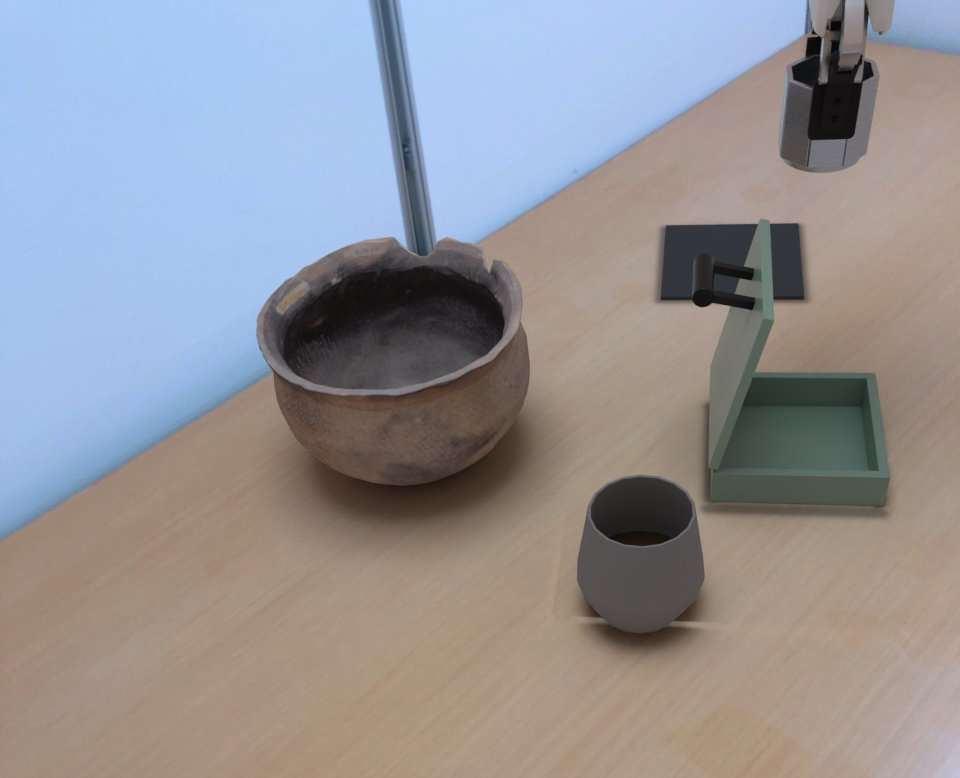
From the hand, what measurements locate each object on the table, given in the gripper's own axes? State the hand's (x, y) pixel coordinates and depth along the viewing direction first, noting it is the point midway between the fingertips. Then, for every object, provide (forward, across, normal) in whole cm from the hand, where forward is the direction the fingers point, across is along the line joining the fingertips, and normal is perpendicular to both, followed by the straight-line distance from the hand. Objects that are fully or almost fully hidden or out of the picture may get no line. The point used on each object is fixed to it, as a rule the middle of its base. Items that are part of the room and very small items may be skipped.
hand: (826, 113), depth 80 cm
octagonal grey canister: (+3, 0, 0) cm, 3 cm away
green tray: (+26, -8, 0) cm, 27 cm away
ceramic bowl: (+26, -7, +33) cm, 42 cm away
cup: (+26, -26, +12) cm, 38 cm away
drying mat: (+26, +23, +4) cm, 35 cm away
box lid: (+14, -8, +5) cm, 17 cm away
